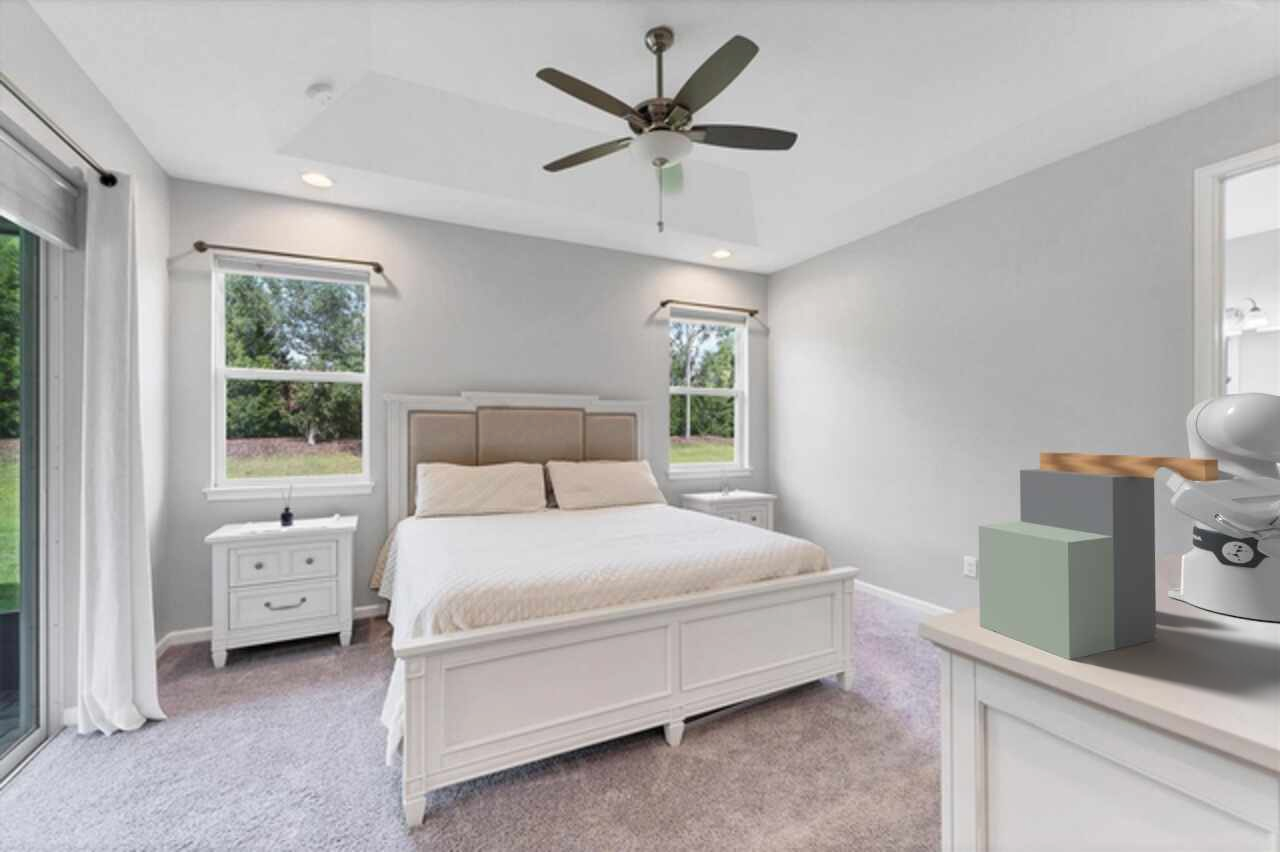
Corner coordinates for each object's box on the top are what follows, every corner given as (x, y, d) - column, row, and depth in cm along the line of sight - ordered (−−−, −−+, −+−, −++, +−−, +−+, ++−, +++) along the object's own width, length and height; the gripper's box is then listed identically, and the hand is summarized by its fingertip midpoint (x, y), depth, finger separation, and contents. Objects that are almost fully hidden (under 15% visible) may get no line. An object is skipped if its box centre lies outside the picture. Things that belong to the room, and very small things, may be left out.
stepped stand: (1156, 639, 85) (1154, 474, 85) (1069, 659, 78) (1067, 480, 78) (1060, 611, 98) (1059, 467, 98) (979, 626, 91) (977, 472, 91)
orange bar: (1218, 480, 75) (1217, 459, 75) (1205, 481, 74) (1204, 459, 74) (1051, 469, 96) (1051, 452, 96) (1039, 469, 95) (1039, 452, 95)
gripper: (1238, 560, 64) (1120, 491, 76) (1328, 545, 71) (1207, 484, 82) (1276, 519, 61) (1147, 453, 73) (1366, 507, 68) (1235, 449, 79)
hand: (1180, 469), depth 77 cm, fingers open, 8 cm apart
